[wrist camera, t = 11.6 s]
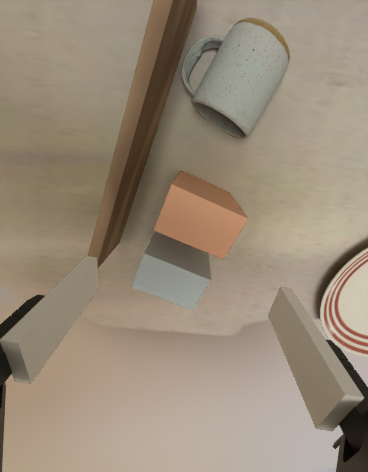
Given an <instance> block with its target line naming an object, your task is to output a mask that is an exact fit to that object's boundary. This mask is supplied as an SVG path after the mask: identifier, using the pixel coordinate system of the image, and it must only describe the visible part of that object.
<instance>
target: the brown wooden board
mask: <svg viewBox="0 0 368 472" xmlns="http://www.w3.org/2000/svg"><path fill="white" fill-rule="evenodd" d="M196 7H197V0H153V4H152V8H151V12H150V16H149V19H148V23H147V27H146V31H145V35H144V39H143V43H142V47H141V51H140V55H139V58H138V62H137V66H136V70H135V74H134V78H133V82H132V86H131V90H130V93H129V97H128V101H127V105H126V109H125V113H124V117H123V121H122V125H121V129H120V132H119V136H118V140H117V144H116V148H115V152H114V156H113V160H112V164H111V168H110V171H109V175H108V179H107V183H106V187H105V191H104V195H103V199H102V203H101V207H100V210H99V214H98V218H97V222H96V226H95V230H94V234H93V238H92V242H91V245H90V249H89V253H88V256H90V257H96V258H97V264H98V268H99V266H100V265H101V264H102V263H103V262H104V260H105V259H106V258H107V257H108V256H109V254H110V253H111V252H112V251H113V250H114V248H115V247H116V246H117V245H118V244H119V242H120V239H121V236H122V233H123V230H124V227H125V224H126V221H127V218H128V215H129V212H130V209H131V206H132V203H133V199H134V196H135V193H136V190H137V187H138V184H139V181H140V178H141V175H142V172H143V169H144V166H145V163H146V160H147V157H148V154H149V151H150V148H151V145H152V141H153V138H154V135H155V132H156V129H157V126H158V123H159V120H160V117H161V114H162V111H163V108H164V105H165V102H166V99H167V96H168V93H169V90H170V87H171V83H172V80H173V77H174V74H175V71H176V68H177V65H178V62H179V59H180V56H181V53H182V50H183V47H184V44H185V41H186V38H187V35H188V32H189V28H190V25H191V22H192V19H193V16H194V13H195V10H196Z"/></svg>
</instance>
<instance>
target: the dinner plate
mask: <svg viewBox="0 0 368 472" xmlns="http://www.w3.org/2000/svg"><path fill="white" fill-rule="evenodd" d="M320 320H321V324H322V327H323V330H324V331H325V333H326V335H327V336H328V337H329V338H330V340H331V341H332V342H333V343H335V344H336V345H338V346H339V347H340V348H342V349H344V350H346V351H348V352H350V353H353V354H356V355H359V356H363V357H368V248H366V249H364V250H363V251H361V252H360V253H359V254H357V255H356V256H354V258H352V259H351V260H350V261H349V262H347V263H346V264H345V265H344V266H343V267H342V268H341V269H340V271H339V272H338V273H337V274H336V275H335V277H334V278H333V279H332V281H331V282H330V284H329V285H328V287H327V289H326V291H325V293H324V296H323V298H322V302H321V306H320Z"/></svg>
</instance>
